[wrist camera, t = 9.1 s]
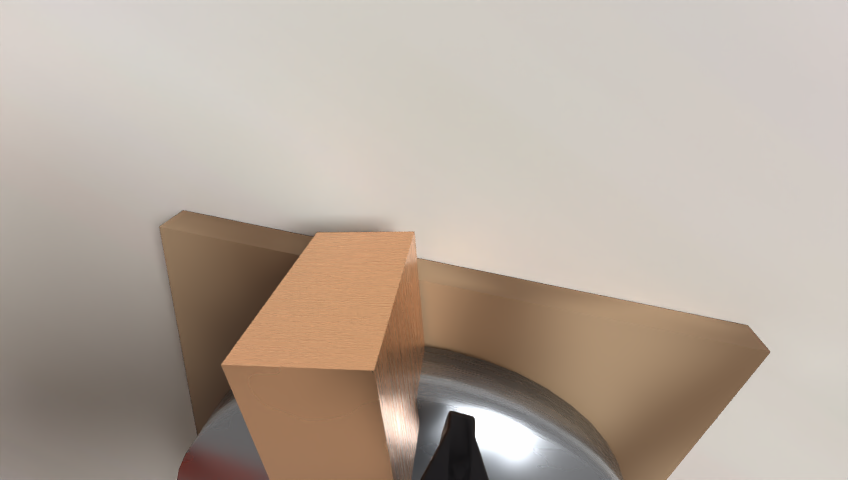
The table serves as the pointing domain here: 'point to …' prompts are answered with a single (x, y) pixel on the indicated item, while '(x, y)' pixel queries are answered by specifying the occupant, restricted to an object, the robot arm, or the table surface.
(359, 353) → the turntable
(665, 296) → the table surface
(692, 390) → the plinth
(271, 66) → the table surface
